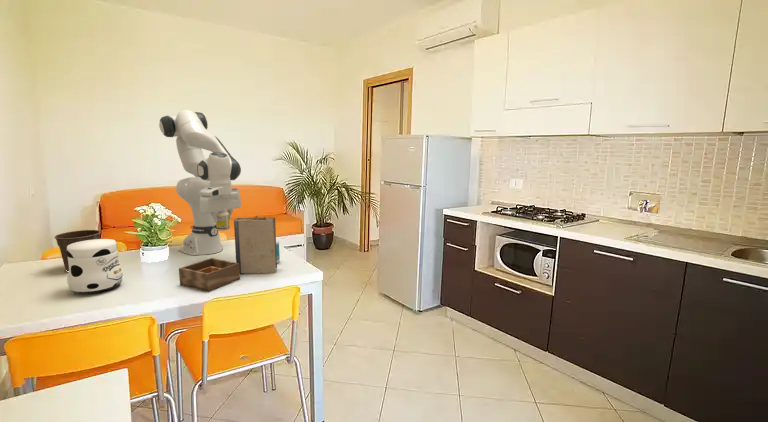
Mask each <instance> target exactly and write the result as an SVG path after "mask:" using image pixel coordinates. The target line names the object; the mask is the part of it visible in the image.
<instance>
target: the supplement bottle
mask: <svg viewBox="0 0 768 422" xmlns="http://www.w3.org/2000/svg"><path fill="white" fill-rule="evenodd" d="M216 216H217V218H219V222H216V227H217V230H218V231H223V232H224V231H227V230H229V229H230V228H231V227H230V219H229V214H228V211H227V210H226V208H224V209H223V211H220V212H217V215H216Z"/></svg>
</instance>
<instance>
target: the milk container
mask: <svg viewBox="0 0 768 422" xmlns="http://www.w3.org/2000/svg"><path fill="white" fill-rule="evenodd" d="M67 256H68V257H67V259H68V265H69V272H67V278H66V279H67V280H66V281H67V285H68V288H69V289H70V291H71V292H74V293H75V294H76V293H77V294H93V293H99V292H105V291H108V290H111V289H113V288H115V287H118V286H119V285H120V284H121V283H122V281H123V276H124V274H123V273H124V272H123V269H122V266H121V264H120V261H119V252H118V245H117V241H116V240H115V239H113V238H112V239H111V238H110V239H109V238H100V239H94V240H86V241H80V242H76V243H72V244H70V245H68V246H67Z"/></svg>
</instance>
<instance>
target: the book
mask: <svg viewBox="0 0 768 422" xmlns="http://www.w3.org/2000/svg"><path fill="white" fill-rule="evenodd" d="M233 226H234V227H233V230H234V247H235V263H239V267H240V274H276V273H277V268H278V265H277V264H278V263H277V257H276V239H277V235H276V233H277V232H276V230H277V229H276V217H275V216H272V217H271V216H270V217H269V216H268V217H266V216H264V217H259V216H258V215H255V216H254V217H236V218H234V219H233Z"/></svg>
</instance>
